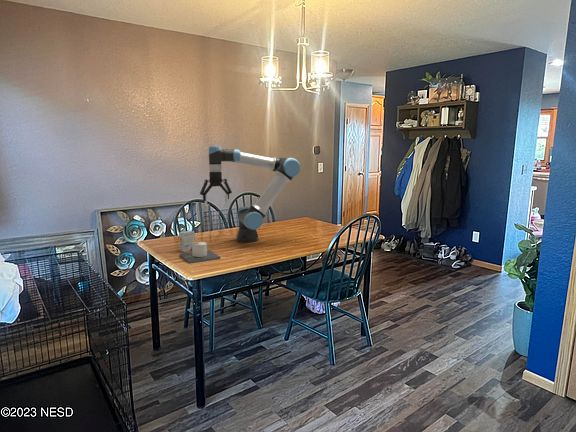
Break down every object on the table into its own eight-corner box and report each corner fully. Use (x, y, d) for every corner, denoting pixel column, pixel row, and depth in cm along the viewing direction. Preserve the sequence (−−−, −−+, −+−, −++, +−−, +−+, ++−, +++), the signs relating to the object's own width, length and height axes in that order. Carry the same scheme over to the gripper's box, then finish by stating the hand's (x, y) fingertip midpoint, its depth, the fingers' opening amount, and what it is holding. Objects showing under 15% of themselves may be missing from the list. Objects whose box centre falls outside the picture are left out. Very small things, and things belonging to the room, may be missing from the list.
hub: (209, 251, 238) (208, 241, 237) (220, 258, 223) (220, 248, 222) (179, 255, 229) (179, 245, 228) (189, 263, 213) (188, 252, 212)
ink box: (191, 248, 246) (190, 230, 244) (196, 249, 242) (195, 231, 240) (179, 250, 240) (178, 232, 238) (183, 252, 236) (182, 233, 234)
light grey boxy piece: (203, 252, 231) (203, 240, 230) (208, 255, 224) (208, 243, 223) (190, 254, 227) (190, 241, 226) (195, 257, 220) (195, 244, 219)
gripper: (231, 170, 252) (232, 203, 255) (193, 171, 239) (195, 206, 242) (236, 171, 245) (237, 204, 249) (197, 172, 232) (199, 207, 236)
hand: (216, 205), depth 246 cm, fingers open, 13 cm apart
